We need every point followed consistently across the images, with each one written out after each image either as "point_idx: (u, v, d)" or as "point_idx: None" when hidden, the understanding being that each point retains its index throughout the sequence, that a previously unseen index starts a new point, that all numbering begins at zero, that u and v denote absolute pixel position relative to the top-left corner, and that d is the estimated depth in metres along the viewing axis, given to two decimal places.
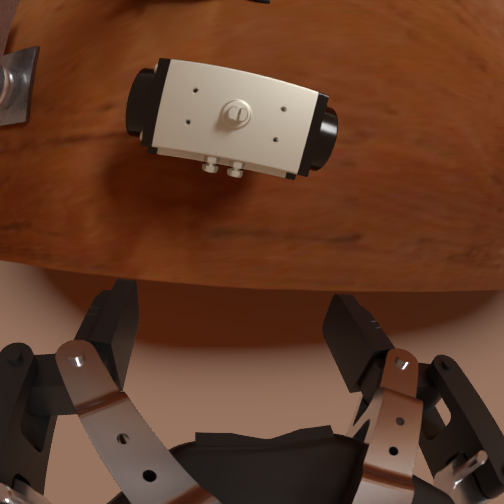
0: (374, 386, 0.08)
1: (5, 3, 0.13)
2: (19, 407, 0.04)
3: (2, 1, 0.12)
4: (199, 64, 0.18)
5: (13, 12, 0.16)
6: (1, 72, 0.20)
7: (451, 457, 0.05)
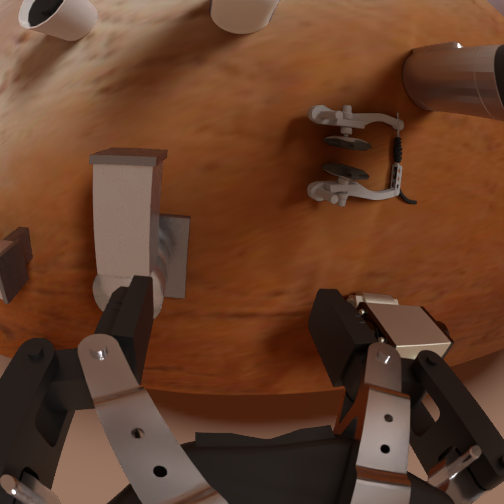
0: (356, 380, 0.08)
1: (156, 178, 0.25)
2: (35, 402, 0.04)
3: (155, 179, 0.24)
4: (408, 346, 0.30)
5: None
6: (164, 266, 0.32)
7: (443, 452, 0.06)
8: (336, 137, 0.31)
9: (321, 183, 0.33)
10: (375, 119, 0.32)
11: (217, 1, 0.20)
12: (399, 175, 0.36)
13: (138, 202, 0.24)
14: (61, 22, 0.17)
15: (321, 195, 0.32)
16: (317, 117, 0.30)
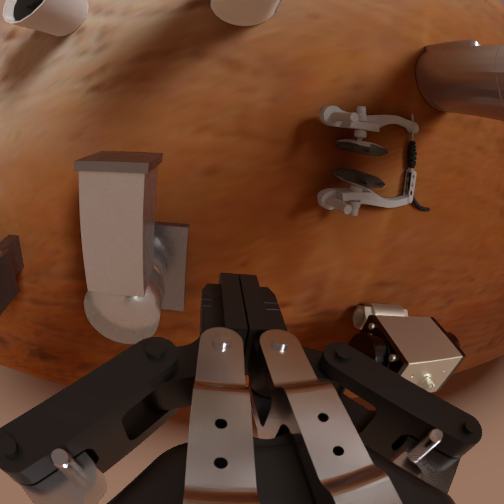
0: (253, 368, 0.08)
1: (150, 186, 0.22)
2: (133, 399, 0.06)
3: (148, 187, 0.22)
4: (421, 363, 0.27)
5: None
6: (160, 280, 0.30)
7: (394, 440, 0.06)
8: (349, 141, 0.29)
9: (332, 191, 0.31)
10: (390, 121, 0.29)
11: None
12: (413, 181, 0.33)
13: (130, 214, 0.21)
14: (47, 15, 0.14)
15: (333, 204, 0.30)
16: (329, 119, 0.27)
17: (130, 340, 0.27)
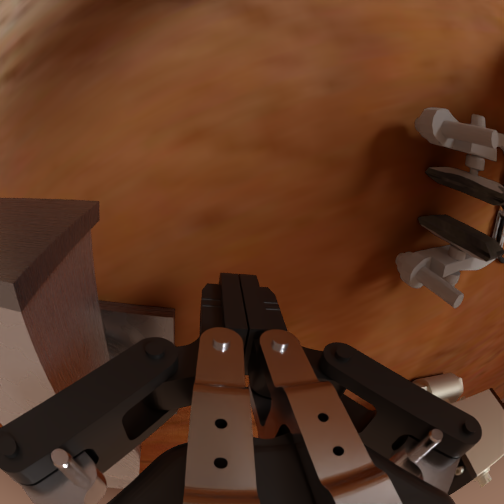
0: (253, 368, 0.08)
1: (63, 300, 0.08)
2: (133, 399, 0.06)
3: (53, 313, 0.07)
4: (487, 468, 0.13)
5: None
6: None
7: (394, 440, 0.06)
8: (458, 173, 0.14)
9: (427, 258, 0.16)
10: (498, 143, 0.14)
11: None
12: None
13: (27, 380, 0.06)
14: None
15: (430, 286, 0.15)
16: (439, 132, 0.12)
17: None
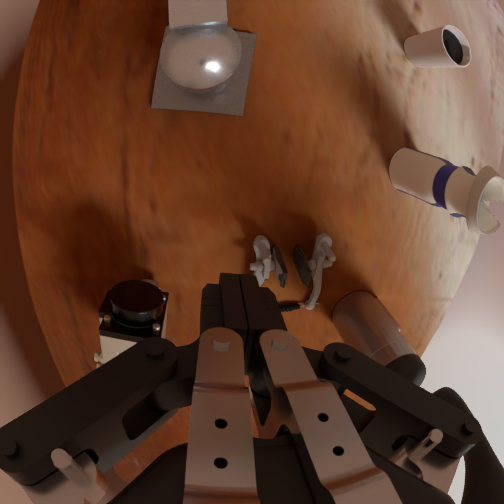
0: (253, 368, 0.08)
1: None
2: (134, 399, 0.06)
3: None
4: None
5: None
6: None
7: (394, 440, 0.06)
8: None
9: (269, 247, 0.41)
10: (316, 286, 0.46)
11: (425, 158, 0.34)
12: None
13: None
14: (433, 50, 0.26)
15: (263, 249, 0.39)
16: (323, 241, 0.41)
17: (210, 81, 0.24)
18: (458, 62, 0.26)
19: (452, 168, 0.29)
